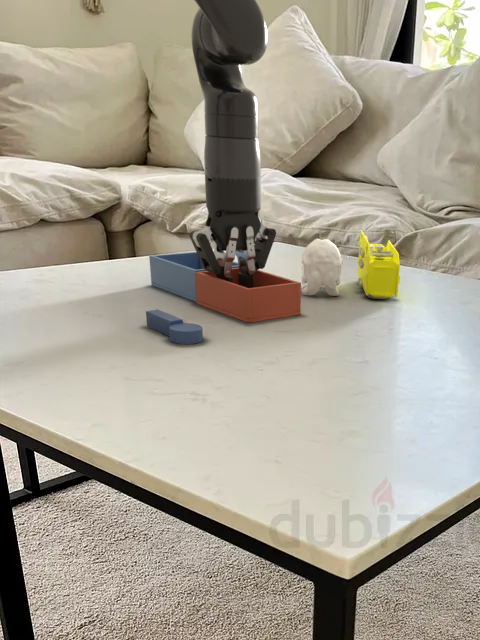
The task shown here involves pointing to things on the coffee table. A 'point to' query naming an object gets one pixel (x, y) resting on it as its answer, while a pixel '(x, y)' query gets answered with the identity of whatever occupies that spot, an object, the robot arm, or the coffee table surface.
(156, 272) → the blue bin
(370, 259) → the yellow toy chassis
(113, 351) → the coffee table surface
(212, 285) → the red bin
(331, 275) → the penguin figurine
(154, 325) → the blue spoon
